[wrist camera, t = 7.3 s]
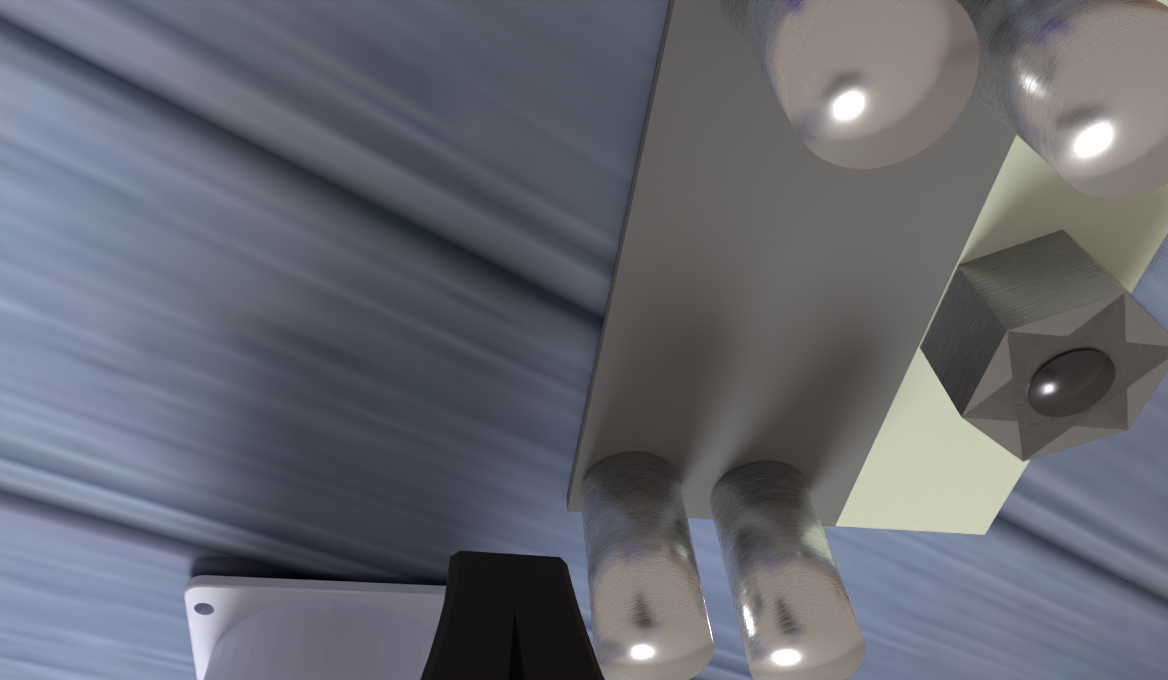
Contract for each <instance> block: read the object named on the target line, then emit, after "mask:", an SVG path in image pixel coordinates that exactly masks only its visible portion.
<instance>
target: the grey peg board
mask: <svg viewBox="0 0 1168 680" xmlns="http://www.w3.org/2000/svg"><path fill="white" fill-rule="evenodd" d="M721 5H722V8H723V11H724V13H725V16H726V17H727V19H728V21H729V23H730V25H731V26H732V28H733V30H734V31H735V33H736V34H737V36H738V38H739V39H740V41H741V43H742V44H743V46H744V48H745V49H746V51H747V52H748V54H749V56H750V57H751V59H752V61H753V62H754V64H755V66H756V67H757V69H758V71H759V72H760V74H761V75H762V77H763V79H764V80H765V82H766V84H767V85H768V87H769V89H770V90H771V92H772V93H773V95H774V97H775V98H776V100H777V102H778V103H779V105H780V107H781V108H782V110H783V111H784V113H785V115H786V116H787V118H788V120H789V121H790V123H791V125H792V126H793V128H794V129H795V131H796V133H797V134H798V136H799V137H800V139H801V140H802V141H803V143H804V144H805V145H806V146H807V147H808V148H809V149H810V150H811V151H812V152H813V153H814V154H816V155H817V156H819V157H820V158H822V159H824V160H826V161H828V162H830V163H832V164H835V165H838V166H841V167H847V168H853V169H872V168H879V167H884V166H889V165H892V164H895V163H898V162H901V161H903V160H906V159H908V158H910V157H912V156H914V155H916V154H917V153H919V152H921V151H923V150H924V149H925V148H927V147H928V146H930V145H931V144H933V143H934V142H935V141H936V140H937V139H938V138H940V137H941V136H942V135H943V134H944V133H945V132H946V131H947V130H948V129H949V128H950V127H951V125H952V124H953V123H954V122H955V120H956V119H957V118H958V117H959V115H960V114H961V112H962V110H963V109H964V107H965V106H966V104H967V102H968V100H969V98H970V95H971V93H973V94H974V95H975V96H976V97H977V98H978V99H979V100H980V101H982V102H983V103H984V104H985V105H986V106H987V107H988V108H989V109H990V110H991V111H992V112H993V113H994V114H995V115H996V116H998V117H999V118H1000V119H1001V120H1002V121H1003V122H1004V123H1005V124H1006V125H1007V126H1008V127H1009V128H1010V129H1011V130H1012V131H1014V132H1015V133H1016V134H1017V135H1018V136H1019V137H1020V138H1021V139H1022V140H1023V141H1024V142H1025V143H1026V144H1027V145H1029V146H1030V147H1031V148H1032V149H1033V150H1034V151H1035V152H1036V153H1037V154H1038V155H1039V156H1040V157H1041V158H1042V159H1043V160H1045V161H1046V162H1047V163H1048V164H1049V165H1050V166H1051V167H1052V168H1053V169H1054V170H1055V171H1056V172H1057V173H1058V174H1060V175H1061V176H1062V177H1063V178H1064V179H1065V180H1066V181H1067V182H1068V183H1069V184H1070V185H1072V186H1073V187H1074V188H1075V189H1077V190H1079V191H1081V192H1082V193H1084V194H1087V195H1090V196H1093V197H1098V198H1105V199H1119V198H1128V197H1133V196H1138V195H1141V194H1145V193H1148V192H1150V191H1153V190H1156V189H1158V188H1160V187H1162V186H1164V185H1166V184H1168V6H1166V5H1165V4H1163V3H1161V2H1159V1H1157V0H721ZM580 496H581V508H582V519H583V530H584V541H585V552H586V563H587V575H588V586H589V597H590V608H591V619H592V631H593V642H594V653H595V656H596V659H597V661H598V664H599V667H600V669H601V672H602V674H603V676H604V677H605V678H607V679H608V680H688V679H690V678H692V677H694V676H695V675H697V674H698V673H700V672H701V671H702V670H703V669H704V668H705V667H706V666H707V665H708V664H709V662H710V661H711V659H712V657H713V653H714V643H713V638H712V633H711V628H710V624H709V619H708V614H707V609H706V605H705V600H704V595H703V591H702V586H701V581H700V576H699V572H698V567H697V562H696V557H695V553H694V548H693V543H692V538H691V534H690V529H689V524H688V519H687V515H686V510H685V505H684V500H683V496H682V491H681V486H680V481H679V477H678V474H677V472H676V470H675V468H674V467H673V466H672V465H671V464H670V463H669V462H668V461H667V460H665V459H663V458H662V457H660V456H657V455H655V454H651V453H647V452H640V451H630V452H622V453H617V454H614V455H611V456H608V457H606V458H604V459H602V460H600V461H599V462H597V463H596V464H594V465H593V466H592V467H591V468H590V469H589V470H588V471H587V472H586V474H585V475H584V477H583V479H582V482H581V485H580ZM710 507H711V511H712V515H713V519H714V523H715V527H716V532H717V536H718V540H719V544H720V548H721V552H722V556H723V561H724V565H725V569H726V573H727V577H728V581H729V585H730V590H731V594H732V598H733V602H734V606H735V610H736V615H737V619H738V623H739V627H740V631H741V635H742V639H743V644H744V648H745V652H746V656H747V660H748V664H749V668H750V672H751V675H752V677H753V678H754V680H845V679H846V678H848V677H849V676H850V675H852V674H853V673H854V672H855V671H856V670H857V669H858V668H859V667H860V665H861V664H862V662H863V660H864V658H865V654H866V646H865V643H864V640H863V637H862V634H861V632H860V629H859V626H858V624H857V621H856V618H855V615H854V613H853V610H852V607H851V604H850V602H849V599H848V596H847V593H846V591H845V588H844V585H843V582H842V580H841V577H840V574H839V571H838V569H837V566H836V563H835V560H834V558H833V555H832V552H831V549H830V547H829V544H828V541H827V538H826V536H825V533H824V530H823V527H822V525H821V522H820V519H819V516H818V514H817V511H816V508H815V505H814V503H813V500H812V497H811V494H810V492H809V489H808V486H807V483H806V481H805V478H804V477H803V475H802V474H801V473H800V472H799V471H798V470H797V469H796V468H794V467H793V466H791V465H789V464H786V463H783V462H779V461H772V460H764V461H755V462H750V463H747V464H744V465H741V466H739V467H736V468H734V469H733V470H731V471H729V472H728V473H726V474H725V475H724V476H723V477H722V478H721V479H720V480H719V481H718V482H717V483H716V484H715V486H714V488H713V490H712V492H711V496H710Z"/></svg>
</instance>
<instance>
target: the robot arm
mask: <svg viewBox="0 0 1168 680" xmlns="http://www.w3.org/2000/svg"><path fill="white" fill-rule="evenodd" d="M184 600H185V606H186V613H187V619H188V626H189V632H190V639H191V645H192V652H193V658H194V665H195V671H196V678H197V680H605V679H604V677H603V674H602V672H601V669H600V667H599V664H598V661H597V659H596V656H595V653H594V650H593V648H592V645H591V642H590V639H589V637H588V634H587V631H586V628H585V625H584V622H583V619H582V616H581V613H580V610H579V606H578V603H577V600H576V597H575V593H574V590H573V586H572V582H571V579H570V575H569V571H568V566H567V564H566V563H565V562H564V561H563V560H562V559H561V558H560V557H549V556H534V555H518V554H503V553H488V552H473V551H459V552H458V553H456V554H454V555H452V556H450V562H449V570H448V577H447V584H446V586H437V585H414V584H392V583H370V582H347V581H325V580H303V579H281V578H258V577H236V576H214V575H200V576H196V577H193V578H191V579H190V580H189V581H188V582H187V585H186V588H185V591H184Z"/></svg>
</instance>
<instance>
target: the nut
mask: <svg viewBox="0 0 1168 680" xmlns="http://www.w3.org/2000/svg"><path fill="white" fill-rule="evenodd" d="M920 349H921V351H922V352H923V354H924V356H925V357H926V359H927V361H928V362H929V364H930V366H931V367H932V369H933V371H934V372H935V374H936V376H937V377H938V379H939V381H940V382H941V384H942V386H943V387H944V389H945V391H946V392H947V394H948V396H949V397H950V399H951V401H952V402H953V404H954V406H955V407H956V409H957V411H958V412H959V414H960V416H961V417H962V418H963V419H965V420H966V421H967V422H969V423H970V424H971V425H973V426H974V427H976V428H977V429H978V430H980V431H981V432H982V433H984V434H985V435H987V436H988V437H989V438H991V439H992V440H994V441H995V442H996V443H998V444H999V445H1000V446H1002V447H1003V448H1005V449H1006V450H1007V451H1009V452H1010V453H1011V454H1013V455H1014V456H1016V457H1017V458H1018V459H1020V460H1021V461H1022V462H1024V461H1027V460H1031V459H1034V458H1037V457H1041V456H1044V455H1047V454H1051V453H1054V452H1057V451H1061V450H1064V449H1067V448H1070V447H1074V446H1077V445H1080V444H1084V443H1087V442H1090V441H1094V440H1097V439H1100V438H1104V437H1107V436H1110V435H1114V434H1117V433H1120V432H1124V431H1127V430H1128V429H1129V428H1130V426H1131V425H1132V423H1133V422H1134V420H1135V419H1136V417H1137V416H1138V414H1139V413H1140V412H1141V410H1142V409H1143V407H1144V406H1145V404H1146V403H1147V401H1148V400H1149V398H1150V397H1151V395H1152V394H1153V392H1154V391H1155V389H1156V388H1157V386H1158V385H1159V383H1160V382H1161V380H1162V379H1163V377H1164V376H1165V374H1166V373H1167V372H1168V331H1167V330H1166V329H1165V328H1164V327H1163V326H1162V325H1161V324H1160V323H1159V322H1158V321H1157V320H1156V319H1155V318H1154V317H1153V316H1152V315H1151V314H1150V313H1149V312H1148V311H1147V310H1146V309H1145V308H1144V307H1143V306H1142V305H1141V304H1140V303H1139V302H1138V301H1137V300H1136V299H1135V298H1134V297H1133V296H1132V295H1131V294H1130V292H1129V291H1128V290H1127V289H1126V288H1125V287H1124V286H1123V285H1122V284H1121V283H1120V282H1119V281H1118V280H1117V279H1115V278H1114V277H1113V276H1112V275H1111V274H1110V273H1109V272H1108V271H1107V270H1106V269H1105V268H1104V267H1103V266H1102V265H1101V264H1099V263H1098V262H1097V261H1096V260H1095V259H1094V258H1093V257H1092V256H1091V255H1090V254H1089V253H1088V252H1087V251H1086V250H1085V249H1084V248H1082V247H1081V246H1080V245H1079V244H1078V243H1077V242H1076V241H1075V240H1074V239H1073V238H1072V237H1071V236H1070V235H1069V234H1068V233H1066V232H1065V231H1064V230H1063V229H1062V230H1059V231H1056V232H1053V233H1050V234H1048V235H1045V236H1042V237H1039V238H1036V239H1033V240H1030V241H1027V242H1024V243H1021V244H1018V245H1015V246H1012V247H1009V248H1006V249H1003V250H1000V251H998V252H995V253H992V254H989V255H986V256H983V257H980V258H977V259H974V260H971V261H968V262H965V263H962V264H959V265H957V268H956V270H955V272H954V274H953V276H952V278H951V280H950V283H949V285H948V287H947V289H946V291H945V293H944V296H943V298H942V300H941V302H940V304H939V306H938V308H937V311H936V313H935V315H934V317H933V319H932V321H931V324H930V326H929V328H928V330H927V332H926V334H925V337H924V339H923V341H922V343H921V345H920Z"/></svg>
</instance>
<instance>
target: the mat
mask: <svg viewBox="0 0 1168 680" xmlns="http://www.w3.org/2000/svg"><path fill="white" fill-rule="evenodd" d="M1157 1H1159V2H1161V3H1163V4H1165V5H1166V6H1168V0H1157ZM1062 229H1063V230H1064V231H1065V232H1066V233H1068V234H1069V235H1070V236H1071V237H1072V238H1073V239H1074V240H1075V241H1076V242H1077V243H1078V244H1079V245H1080V246H1081V247H1082V248H1084V249H1085V250H1086V251H1087V252H1088V253H1089V254H1090V255H1091V256H1092V257H1093V258H1094V259H1095V260H1096V261H1097V262H1098V263H1099V264H1101V265H1102V266H1103V267H1104V268H1105V269H1106V270H1107V271H1108V272H1109V273H1110V274H1111V275H1112V276H1113V277H1114V278H1115V279H1117V280H1118V281H1119V282H1120V283H1121V284H1122V285H1123V286H1124V287H1125V288H1126V289H1127V290H1128V291H1129V292H1130V294H1131V293H1132V291H1133V289H1134V288H1135V286H1136V284H1137V283H1138V281H1139V279H1140V278H1141V276H1142V274H1143V273H1144V271H1145V270H1146V268H1147V266H1148V265H1149V263H1150V261H1151V260H1152V258H1153V256H1154V255H1155V253H1156V251H1157V250H1158V248H1159V246H1160V245H1161V243H1162V241H1163V240H1164V238H1165V237H1166V235H1167V233H1168V184H1166V185H1164V186H1162V187H1160V188H1158V189H1156V190H1153V191H1150V192H1148V193H1145V194H1141V195H1138V196H1133V197H1128V198H1119V199H1105V198H1098V197H1093V196H1090V195H1087V194H1084V193H1082V192H1081V191H1079V190H1077V189H1075V188H1074V187H1073V186H1072V185H1070V184H1069V183H1068V182H1067V181H1066V180H1065V179H1064V178H1063V177H1062V176H1061V175H1060V174H1058V173H1057V172H1056V171H1055V170H1054V169H1053V168H1052V167H1051V166H1050V165H1049V164H1048V163H1047V162H1046V161H1045V160H1043V159H1042V158H1041V157H1040V156H1039V155H1038V154H1037V153H1036V152H1035V151H1034V150H1033V149H1032V148H1031V147H1030V146H1029V145H1027V144H1026V143H1025V142H1024V141H1023V140H1022V139H1021V138H1020V137H1019V136H1018V135H1017V134H1016V133H1015V132H1014V131H1012V130H1011V129H1010V128H1009V127H1008V126H1007V125H1006V124H1005V123H1004V122H1003V121H1002V120H1001V119H1000V118H999V117H998V116H996V115H995V114H994V113H993V112H992V111H991V110H990V109H989V108H988V107H987V106H986V105H985V104H984V103H983V102H982V101H980V100H979V99H978V98H977V97H976V96H975V95H974V94H973V93H971V95H970V98H969V100H968V102H967V104H966V106H965V107H964V109H963V110H962V112H961V114H960V115H959V117H958V118H957V119H956V120H955V122H954V123H953V124H952V125H951V127H950V128H949V129H948V130H947V131H946V132H945V133H944V134H943V135H942V136H941V137H940V138H938V139H937V140H936V141H935V142H934V143H933V144H931V145H930V146H928V147H927V148H925V149H924V150H923V151H921V152H919V153H917V154H916V155H914V156H912V157H910V158H908V159H906V160H903V161H901V162H898V163H895V164H892V165H889V166H884V167H879V168H872V169H853V168H847V167H841V166H838V165H835V164H832V163H830V162H828V161H826V160H824V159H822V158H820V157H819V156H817V155H816V154H814V153H813V152H812V151H811V150H810V149H809V148H808V147H807V146H806V145H805V144H804V143H803V141H802V140H801V139H800V137H799V136H798V134H797V133H796V131H795V129H794V128H793V126H792V125H791V123H790V121H789V120H788V118H787V116H786V115H785V113H784V111H783V110H782V108H781V107H780V105H779V103H778V102H777V100H776V98H775V97H774V95H773V93H772V92H771V90H770V89H769V87H768V85H767V84H766V82H765V80H764V79H763V77H762V75H761V74H760V72H759V71H758V69H757V67H756V66H755V64H754V62H753V61H752V59H751V57H750V56H749V54H748V52H747V51H746V49H745V48H744V46H743V44H742V43H741V41H740V39H739V38H738V36H737V34H736V33H735V31H734V30H733V28H732V26H731V25H730V23H729V21H728V19H727V17H726V16H725V13H724V11H723V8H722V5H721V0H670V4H669V8H668V13H667V18H666V23H665V28H664V33H663V37H662V42H661V47H660V52H659V57H658V61H657V66H656V71H655V76H654V81H653V86H652V90H651V95H650V100H649V105H648V110H647V114H646V119H645V124H644V129H643V134H642V139H641V143H640V148H639V153H638V158H637V163H636V167H635V172H634V177H633V182H632V187H631V192H630V196H629V201H628V206H627V211H626V216H625V220H624V225H623V230H622V235H621V240H620V245H619V249H618V254H617V259H616V264H615V269H614V273H613V278H612V283H611V288H610V293H609V298H608V302H607V307H606V312H605V317H604V322H603V326H602V331H601V336H600V341H599V346H598V351H597V355H596V360H595V365H594V370H593V375H592V379H591V384H590V389H589V394H588V399H587V404H586V408H585V413H584V418H583V423H582V428H581V432H580V437H579V442H578V447H577V452H576V457H575V461H574V466H573V471H572V476H571V481H570V485H569V490H568V495H567V511H578V512H582V508H581V496H580V485H581V482H582V479H583V477H584V475H585V474H586V472H587V471H588V470H589V469H590V468H591V467H592V466H593V465H594V464H596V463H597V462H599V461H600V460H602V459H604V458H606V457H608V456H611V455H614V454H617V453H622V452H630V451H640V452H647V453H651V454H655V455H657V456H660V457H662V458H663V459H665V460H667V461H668V462H669V463H670V464H671V465H672V466H673V467H674V468H675V470H676V472H677V474H678V477H679V481H680V486H681V491H682V496H683V500H684V505H685V510H686V515H687V518H698V519H713V515H712V511H711V507H710V496H711V492H712V490H713V488H714V486H715V484H716V483H717V482H718V481H719V480H720V479H721V478H722V477H723V476H724V475H725V474H726V473H728V472H729V471H731V470H733V469H734V468H736V467H739V466H741V465H744V464H747V463H750V462H755V461H764V460H772V461H779V462H783V463H786V464H789V465H791V466H793V467H794V468H796V469H797V470H798V471H799V472H800V473H801V474H802V475H803V477H804V478H805V481H806V483H807V486H808V489H809V492H810V494H811V497H812V500H813V503H814V505H815V508H816V511H817V514H818V516H819V519H820V522H821V525H822V526H846V527H863V528H880V529H897V530H915V531H932V532H949V533H966V534H983V535H985V533H986V532H987V530H988V528H989V527H990V525H991V523H992V522H993V520H994V518H995V517H996V515H997V513H998V512H999V510H1000V508H1001V507H1002V505H1003V504H1004V502H1005V500H1006V499H1007V497H1008V495H1009V494H1010V492H1011V490H1012V489H1013V487H1014V485H1015V484H1016V482H1017V480H1018V479H1019V477H1020V476H1021V474H1022V472H1023V471H1024V469H1025V467H1026V466H1027V464H1028V462H1029V461H1030V460H1027V461H1024V462H1022V461H1021V460H1020V459H1018V458H1017V457H1016V456H1014V455H1013V454H1011V453H1010V452H1009V451H1007V450H1006V449H1005V448H1003V447H1002V446H1000V445H999V444H998V443H996V442H995V441H994V440H992V439H991V438H989V437H988V436H987V435H985V434H984V433H982V432H981V431H980V430H978V429H977V428H976V427H974V426H973V425H971V424H970V423H969V422H967V421H966V420H965V419H963V418H962V417H961V416H960V414H959V412H958V411H957V409H956V407H955V406H954V404H953V402H952V401H951V399H950V397H949V396H948V394H947V392H946V391H945V389H944V387H943V386H942V384H941V382H940V381H939V379H938V377H937V376H936V374H935V372H934V371H933V369H932V367H931V366H930V364H929V362H928V361H927V359H926V357H925V356H924V354H923V352H922V351H921V349H920V345H921V343H922V341H923V339H924V337H925V334H926V332H927V330H928V328H929V326H930V324H931V321H932V319H933V317H934V315H935V313H936V311H937V308H938V306H939V304H940V302H941V300H942V298H943V296H944V293H945V291H946V289H947V287H948V285H949V283H950V280H951V278H952V276H953V274H954V272H955V270H956V268H957V265H959V264H962V263H965V262H968V261H971V260H974V259H977V258H980V257H983V256H986V255H989V254H992V253H995V252H998V251H1000V250H1003V249H1006V248H1009V247H1012V246H1015V245H1018V244H1021V243H1024V242H1027V241H1030V240H1033V239H1036V238H1039V237H1042V236H1045V235H1048V234H1050V233H1053V232H1056V231H1059V230H1062Z"/></svg>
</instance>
